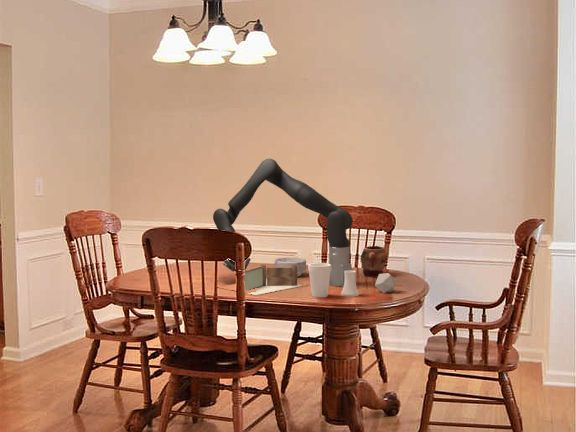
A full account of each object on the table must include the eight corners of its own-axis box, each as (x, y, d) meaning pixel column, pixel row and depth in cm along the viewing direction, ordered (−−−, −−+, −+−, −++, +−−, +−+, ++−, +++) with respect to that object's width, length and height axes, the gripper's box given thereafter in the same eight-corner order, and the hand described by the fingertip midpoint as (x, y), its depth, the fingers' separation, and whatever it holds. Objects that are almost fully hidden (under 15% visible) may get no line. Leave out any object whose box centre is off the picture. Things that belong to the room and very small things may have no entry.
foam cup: (312, 298, 281) (311, 267, 279) (305, 294, 289) (305, 263, 288) (334, 297, 283) (334, 265, 282) (327, 293, 292) (326, 262, 291)
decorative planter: (384, 280, 320) (385, 250, 318) (358, 279, 322) (358, 249, 321) (387, 272, 339) (387, 244, 338) (362, 272, 341) (362, 244, 340)
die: (387, 290, 299) (374, 273, 298) (403, 282, 294) (389, 265, 293) (382, 300, 293) (368, 283, 292) (397, 292, 288) (383, 275, 287)
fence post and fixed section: (297, 284, 309) (297, 264, 308) (297, 285, 306) (297, 265, 305) (260, 285, 309) (260, 264, 308) (260, 286, 306) (260, 265, 305)
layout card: (302, 286, 307) (302, 285, 307) (255, 295, 287) (255, 294, 287) (262, 279, 325) (262, 278, 325) (216, 287, 306) (216, 286, 306)
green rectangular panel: (260, 285, 306) (259, 265, 306) (263, 285, 306) (262, 266, 305) (244, 290, 295) (243, 270, 294) (247, 290, 294) (246, 270, 293)
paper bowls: (306, 278, 326) (306, 261, 325) (274, 278, 326) (273, 262, 325) (306, 273, 341) (306, 257, 340) (275, 273, 341) (275, 257, 340)
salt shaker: (362, 294, 288) (362, 270, 287) (351, 297, 282) (351, 273, 281) (348, 292, 293) (348, 269, 292) (337, 295, 287) (337, 271, 286)
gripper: (220, 242, 307) (230, 273, 297) (247, 240, 313) (258, 271, 303) (216, 252, 312) (225, 283, 303) (243, 250, 318) (254, 281, 308)
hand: (242, 277), depth 303 cm, fingers closed
